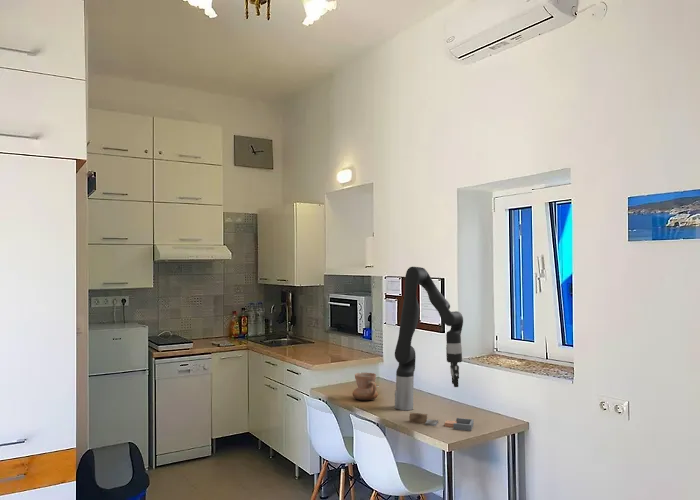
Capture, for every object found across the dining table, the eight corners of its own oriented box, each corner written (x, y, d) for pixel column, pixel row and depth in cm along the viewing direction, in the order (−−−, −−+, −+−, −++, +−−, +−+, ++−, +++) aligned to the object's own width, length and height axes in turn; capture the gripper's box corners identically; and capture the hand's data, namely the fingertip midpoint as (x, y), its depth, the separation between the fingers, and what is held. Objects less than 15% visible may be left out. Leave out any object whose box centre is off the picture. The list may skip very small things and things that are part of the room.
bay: (453, 429, 252) (453, 423, 252) (456, 422, 263) (456, 417, 263) (471, 430, 250) (471, 425, 250) (473, 424, 260) (473, 419, 260)
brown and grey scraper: (408, 423, 261) (408, 414, 261) (411, 419, 267) (411, 411, 268) (435, 426, 257) (435, 417, 257) (438, 422, 263) (438, 414, 264)
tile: (444, 427, 256) (444, 422, 257) (446, 424, 261) (446, 420, 261) (455, 428, 255) (455, 424, 255) (456, 425, 260) (456, 421, 260)
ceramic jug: (346, 397, 312) (346, 372, 313) (367, 395, 320) (367, 370, 321) (363, 404, 297) (363, 378, 298) (385, 401, 305) (385, 375, 305)
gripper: (445, 350, 278) (446, 383, 276) (447, 354, 263) (448, 388, 262) (460, 350, 277) (461, 382, 276) (463, 353, 263) (464, 388, 262)
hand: (455, 385), depth 269 cm, fingers open, 8 cm apart
